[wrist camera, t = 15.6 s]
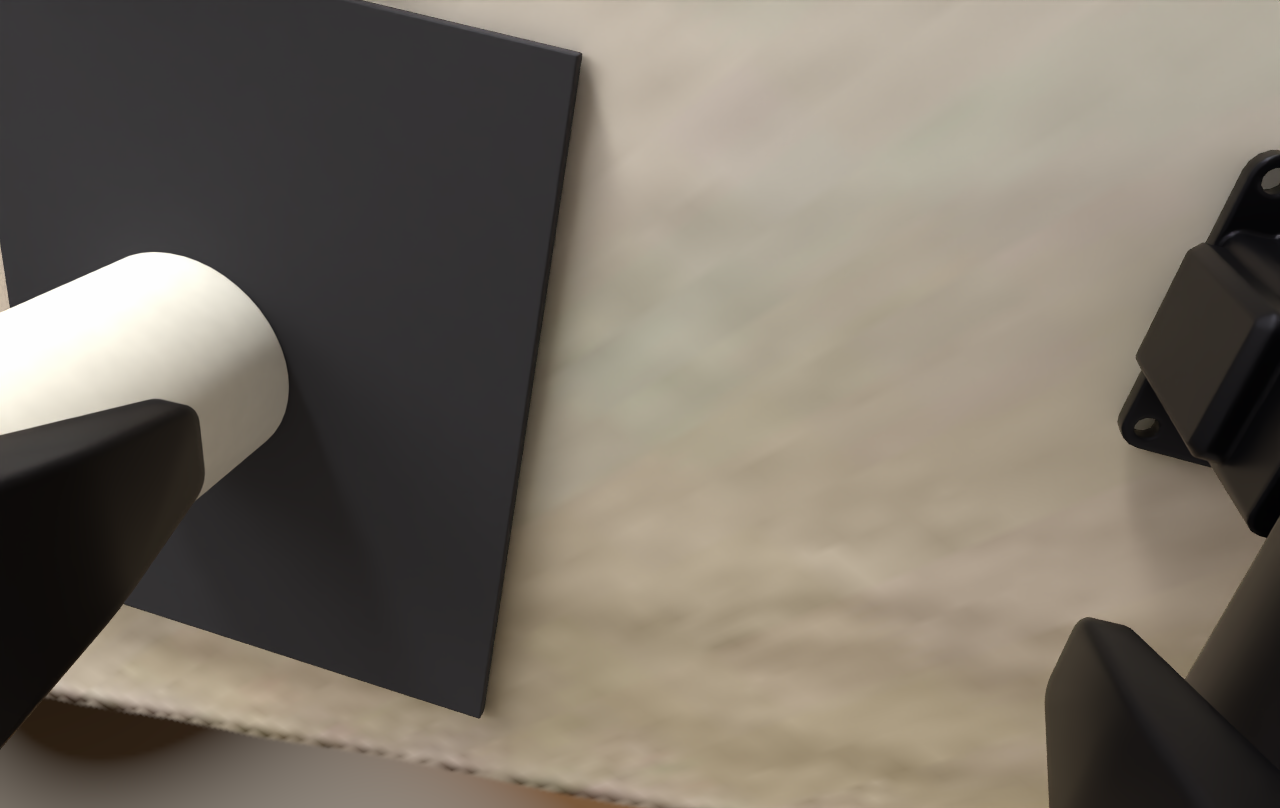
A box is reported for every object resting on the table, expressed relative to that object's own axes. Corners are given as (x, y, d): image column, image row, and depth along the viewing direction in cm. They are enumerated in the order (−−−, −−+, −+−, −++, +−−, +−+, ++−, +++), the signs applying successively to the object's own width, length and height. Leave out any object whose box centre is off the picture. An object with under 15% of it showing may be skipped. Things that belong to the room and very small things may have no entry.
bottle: (291, 285, 24) (-202, 587, 13) (289, 479, 27) (-116, 859, 16) (79, 225, 24) (-562, 465, 14) (99, 421, 27) (-416, 749, 16)
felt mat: (583, 53, 20) (577, 55, 20) (484, 710, 30) (479, 719, 29) (-38, -96, 22) (-53, -96, 21) (59, 574, 31) (50, 581, 31)
